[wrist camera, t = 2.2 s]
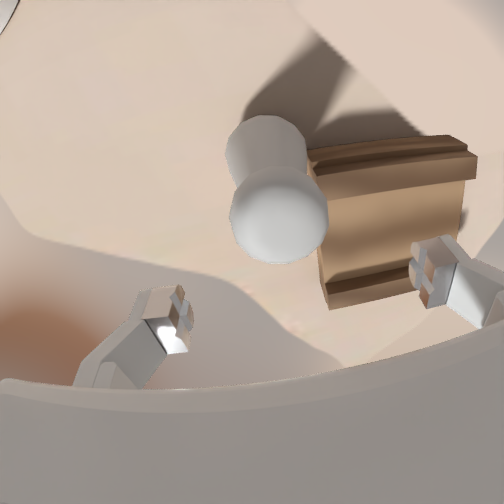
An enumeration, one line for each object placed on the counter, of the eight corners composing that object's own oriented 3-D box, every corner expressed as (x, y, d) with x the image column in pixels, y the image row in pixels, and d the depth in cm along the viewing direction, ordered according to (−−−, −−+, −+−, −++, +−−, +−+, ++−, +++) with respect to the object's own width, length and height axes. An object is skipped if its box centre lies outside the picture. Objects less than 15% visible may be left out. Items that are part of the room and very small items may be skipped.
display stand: (303, 150, 23) (315, 169, 19) (448, 134, 22) (478, 150, 18) (320, 282, 31) (329, 313, 27) (436, 256, 29) (455, 282, 26)
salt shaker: (303, 112, 21) (364, 167, 11) (298, 179, 24) (340, 284, 14) (226, 110, 21) (206, 162, 10) (227, 179, 24) (214, 286, 14)
